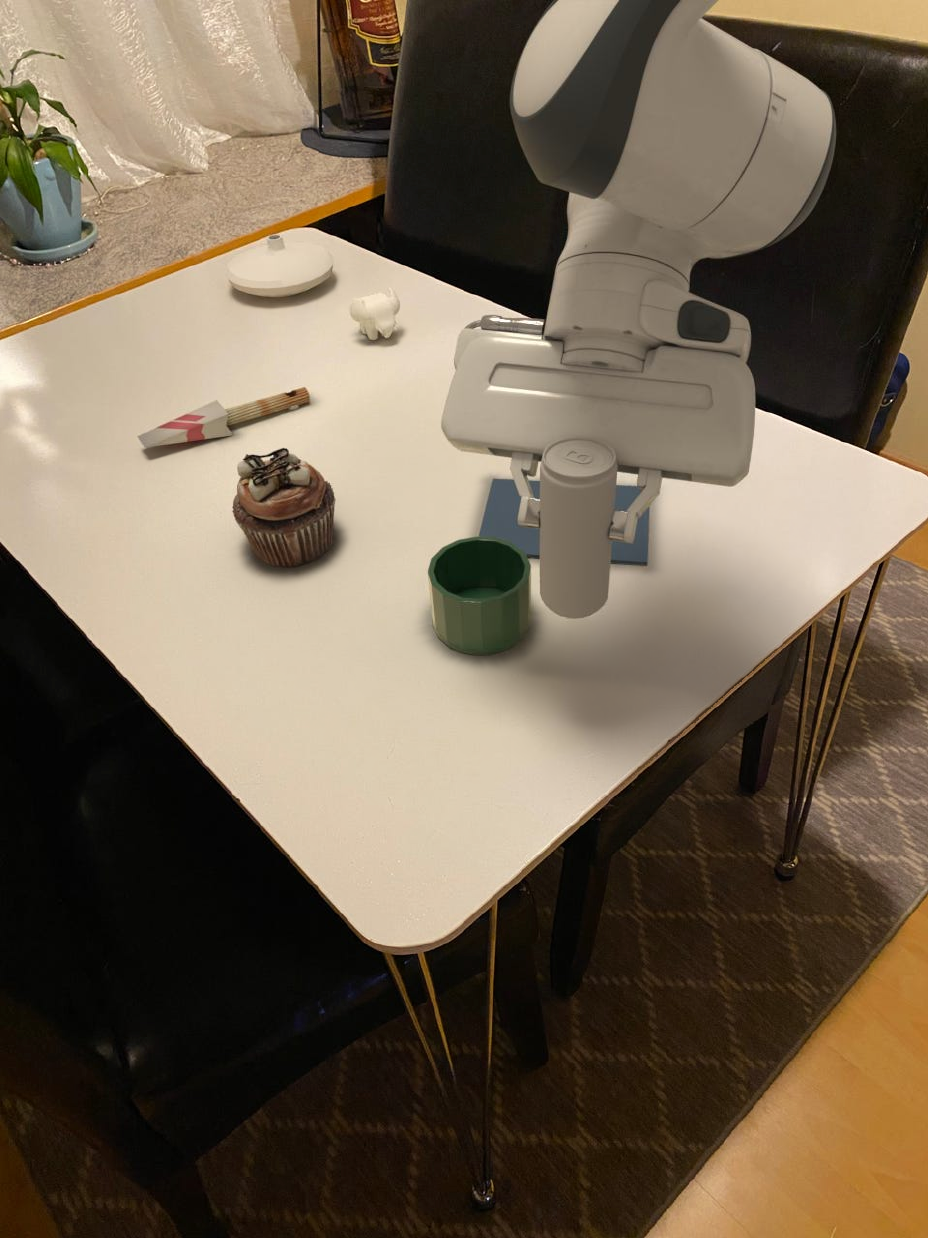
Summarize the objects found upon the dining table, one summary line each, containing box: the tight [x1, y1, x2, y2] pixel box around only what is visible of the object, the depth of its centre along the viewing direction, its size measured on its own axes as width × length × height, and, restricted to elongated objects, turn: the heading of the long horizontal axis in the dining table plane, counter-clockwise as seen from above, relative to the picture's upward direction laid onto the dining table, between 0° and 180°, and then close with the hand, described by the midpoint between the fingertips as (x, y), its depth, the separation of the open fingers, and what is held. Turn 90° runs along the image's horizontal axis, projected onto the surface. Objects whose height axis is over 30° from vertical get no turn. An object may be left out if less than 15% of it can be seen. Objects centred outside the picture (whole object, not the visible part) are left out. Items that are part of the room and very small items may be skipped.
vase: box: [225, 233, 334, 298], centre depth 130 cm, size 16×16×7 cm
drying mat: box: [478, 478, 650, 566], centre depth 88 cm, size 16×12×1 cm
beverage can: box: [539, 436, 618, 620], centre depth 60 cm, size 5×5×12 cm
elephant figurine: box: [349, 287, 401, 341], centre depth 117 cm, size 7×8×6 cm
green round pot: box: [427, 535, 532, 656], centre depth 76 cm, size 8×8×6 cm
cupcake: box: [231, 447, 337, 568], centre depth 84 cm, size 10×10×10 cm
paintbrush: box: [136, 386, 311, 448], centre depth 103 cm, size 4×3×20 cm
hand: (575, 533), depth 59 cm, fingers closed on beverage can, 5 cm apart
